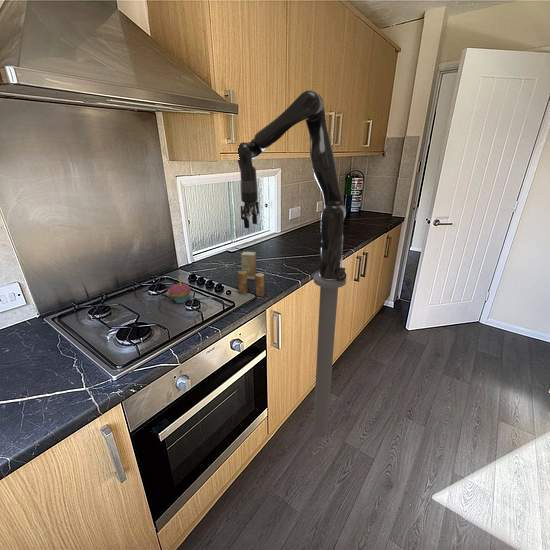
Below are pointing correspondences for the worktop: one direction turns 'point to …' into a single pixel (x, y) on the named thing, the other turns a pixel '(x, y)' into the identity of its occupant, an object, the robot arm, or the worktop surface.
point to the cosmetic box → (249, 264)
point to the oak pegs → (258, 278)
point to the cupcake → (179, 292)
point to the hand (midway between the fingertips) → (251, 225)
